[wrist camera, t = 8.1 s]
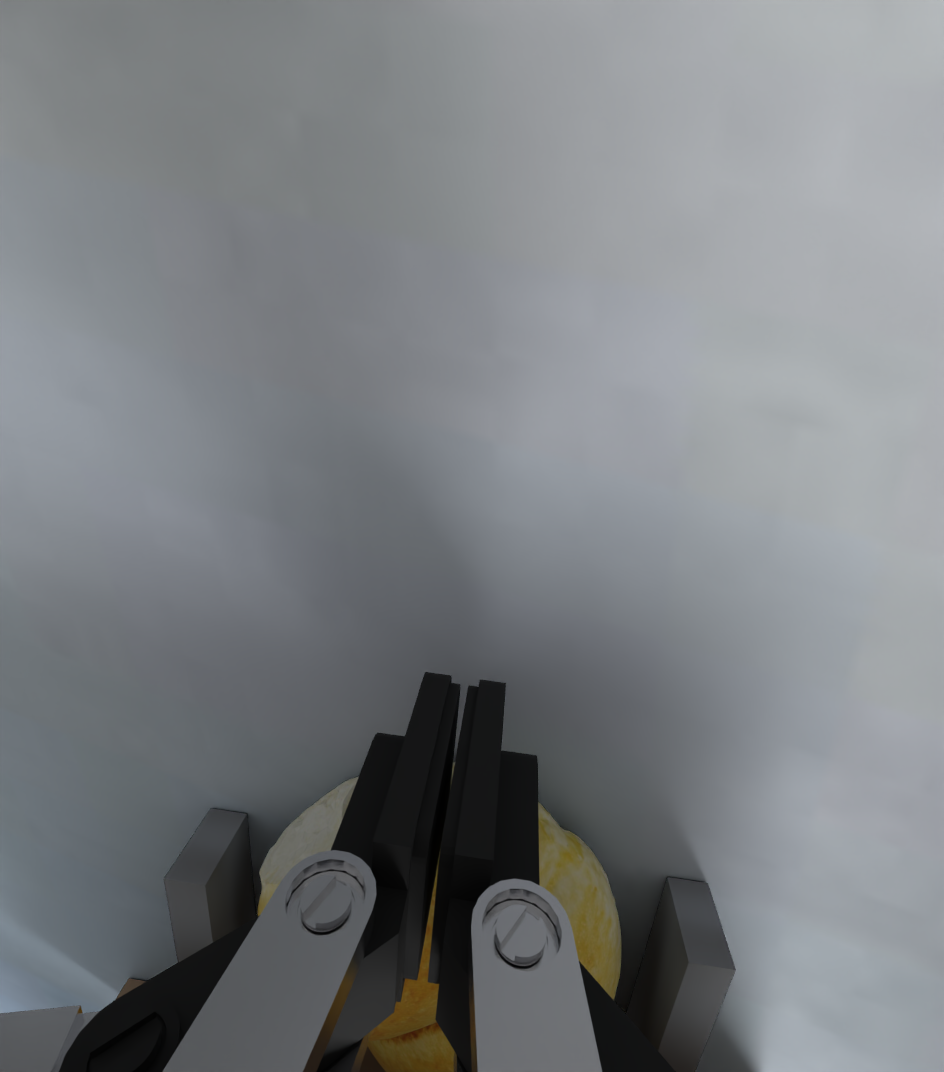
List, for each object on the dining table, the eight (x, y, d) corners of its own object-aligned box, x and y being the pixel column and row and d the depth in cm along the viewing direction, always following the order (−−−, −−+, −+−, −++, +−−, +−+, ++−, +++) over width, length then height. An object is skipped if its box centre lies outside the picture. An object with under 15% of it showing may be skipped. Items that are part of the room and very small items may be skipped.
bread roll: (449, 1016, 17) (426, 1209, 13) (241, 835, 15) (146, 1001, 11) (683, 922, 15) (736, 1126, 11) (470, 692, 13) (444, 843, 9)
